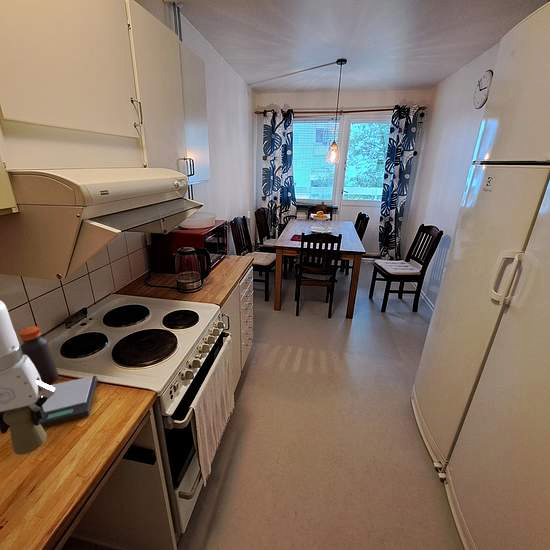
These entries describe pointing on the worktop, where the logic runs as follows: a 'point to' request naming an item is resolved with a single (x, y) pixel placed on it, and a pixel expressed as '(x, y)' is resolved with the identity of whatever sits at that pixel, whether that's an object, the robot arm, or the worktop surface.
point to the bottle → (39, 354)
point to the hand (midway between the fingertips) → (23, 423)
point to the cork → (24, 430)
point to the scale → (69, 401)
